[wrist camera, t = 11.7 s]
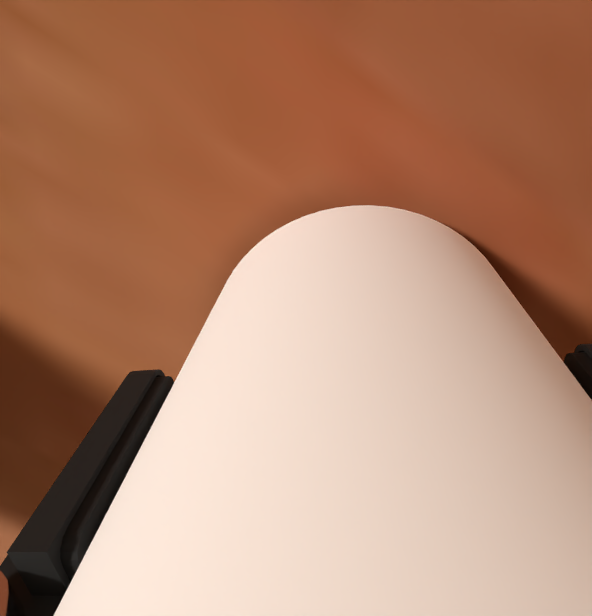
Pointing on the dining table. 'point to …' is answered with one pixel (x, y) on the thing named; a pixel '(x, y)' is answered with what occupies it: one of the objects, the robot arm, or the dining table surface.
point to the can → (356, 444)
